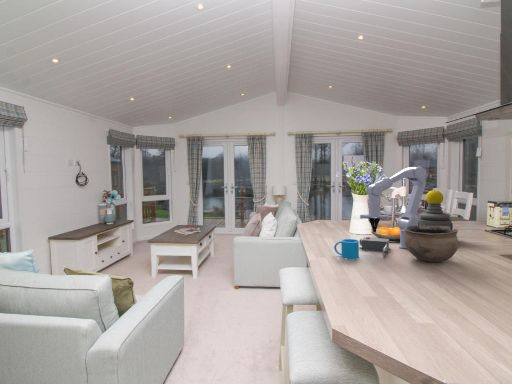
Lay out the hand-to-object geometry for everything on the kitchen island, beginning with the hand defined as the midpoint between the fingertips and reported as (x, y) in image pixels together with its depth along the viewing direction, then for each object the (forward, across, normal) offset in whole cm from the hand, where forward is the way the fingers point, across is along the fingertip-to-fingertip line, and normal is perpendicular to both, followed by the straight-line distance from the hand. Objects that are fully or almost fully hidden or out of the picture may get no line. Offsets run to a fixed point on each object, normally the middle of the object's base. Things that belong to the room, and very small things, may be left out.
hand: (374, 232), depth 169 cm
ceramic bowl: (+10, +25, -13) cm, 30 cm away
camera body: (+9, 0, +2) cm, 10 cm away
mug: (+10, -12, -20) cm, 25 cm away
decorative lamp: (+10, +30, +35) cm, 47 cm away
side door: (+9, +6, -8) cm, 14 cm away
